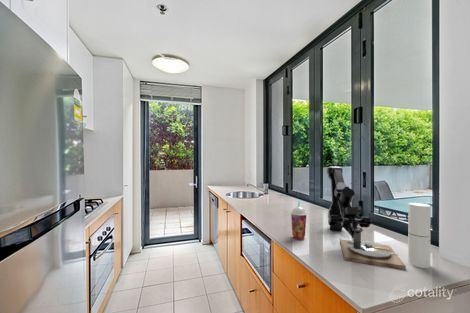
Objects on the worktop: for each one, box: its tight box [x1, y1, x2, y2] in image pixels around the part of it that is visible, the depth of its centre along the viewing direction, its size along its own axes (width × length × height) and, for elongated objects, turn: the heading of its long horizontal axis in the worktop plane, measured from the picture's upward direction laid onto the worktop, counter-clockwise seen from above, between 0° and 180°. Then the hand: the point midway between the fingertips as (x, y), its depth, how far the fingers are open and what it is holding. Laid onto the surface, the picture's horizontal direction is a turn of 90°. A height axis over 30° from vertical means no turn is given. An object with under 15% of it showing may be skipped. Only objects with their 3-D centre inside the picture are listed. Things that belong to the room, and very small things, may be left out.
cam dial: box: [348, 226, 391, 258], centre depth 102 cm, size 17×17×10 cm
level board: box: [339, 238, 407, 271], centre depth 102 cm, size 22×22×2 cm
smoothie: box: [290, 201, 308, 241], centre depth 122 cm, size 8×8×20 cm
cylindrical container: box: [407, 202, 432, 269], centre depth 93 cm, size 7×7×25 cm
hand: (353, 237), depth 103 cm, fingers closed
